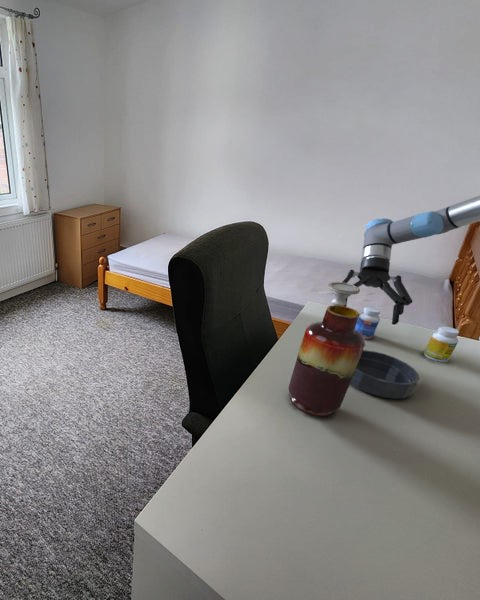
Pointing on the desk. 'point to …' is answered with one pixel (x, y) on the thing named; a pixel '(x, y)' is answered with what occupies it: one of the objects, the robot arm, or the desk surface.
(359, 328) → the pill bottle
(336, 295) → the candle holder
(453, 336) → the supplement bottle
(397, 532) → the desk surface
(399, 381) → the pan
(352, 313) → the vase
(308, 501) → the desk surface
